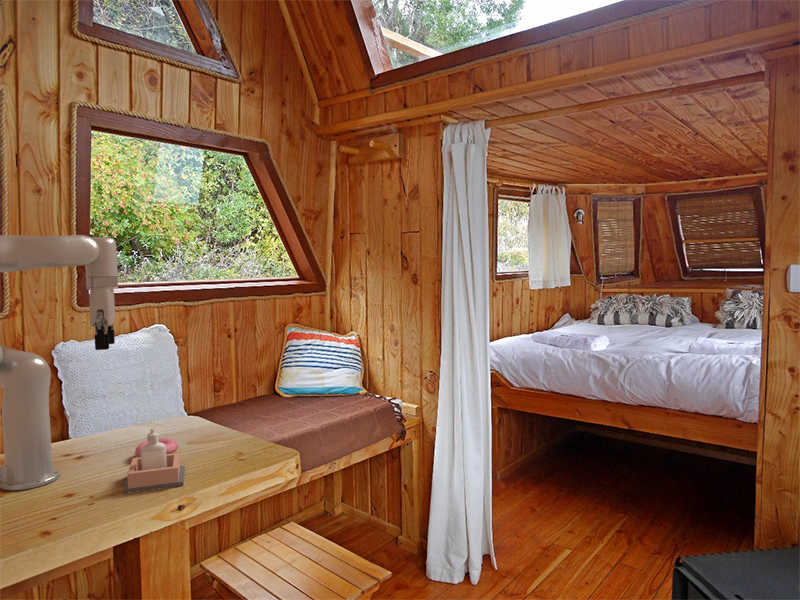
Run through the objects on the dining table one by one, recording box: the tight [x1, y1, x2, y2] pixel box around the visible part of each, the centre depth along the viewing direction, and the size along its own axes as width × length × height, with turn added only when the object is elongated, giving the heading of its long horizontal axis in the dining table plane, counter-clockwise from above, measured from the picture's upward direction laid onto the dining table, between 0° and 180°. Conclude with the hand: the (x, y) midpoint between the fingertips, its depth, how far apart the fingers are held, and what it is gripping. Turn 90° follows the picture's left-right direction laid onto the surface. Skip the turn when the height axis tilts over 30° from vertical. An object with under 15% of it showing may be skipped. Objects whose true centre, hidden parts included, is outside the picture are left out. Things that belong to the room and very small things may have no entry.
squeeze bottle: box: [141, 427, 167, 470], centre depth 135 cm, size 4×6×12 cm
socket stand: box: [122, 452, 186, 494], centre depth 136 cm, size 13×11×4 cm
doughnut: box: [134, 437, 179, 458], centre depth 153 cm, size 11×11×4 cm
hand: (105, 346), depth 151 cm, fingers open, 9 cm apart
